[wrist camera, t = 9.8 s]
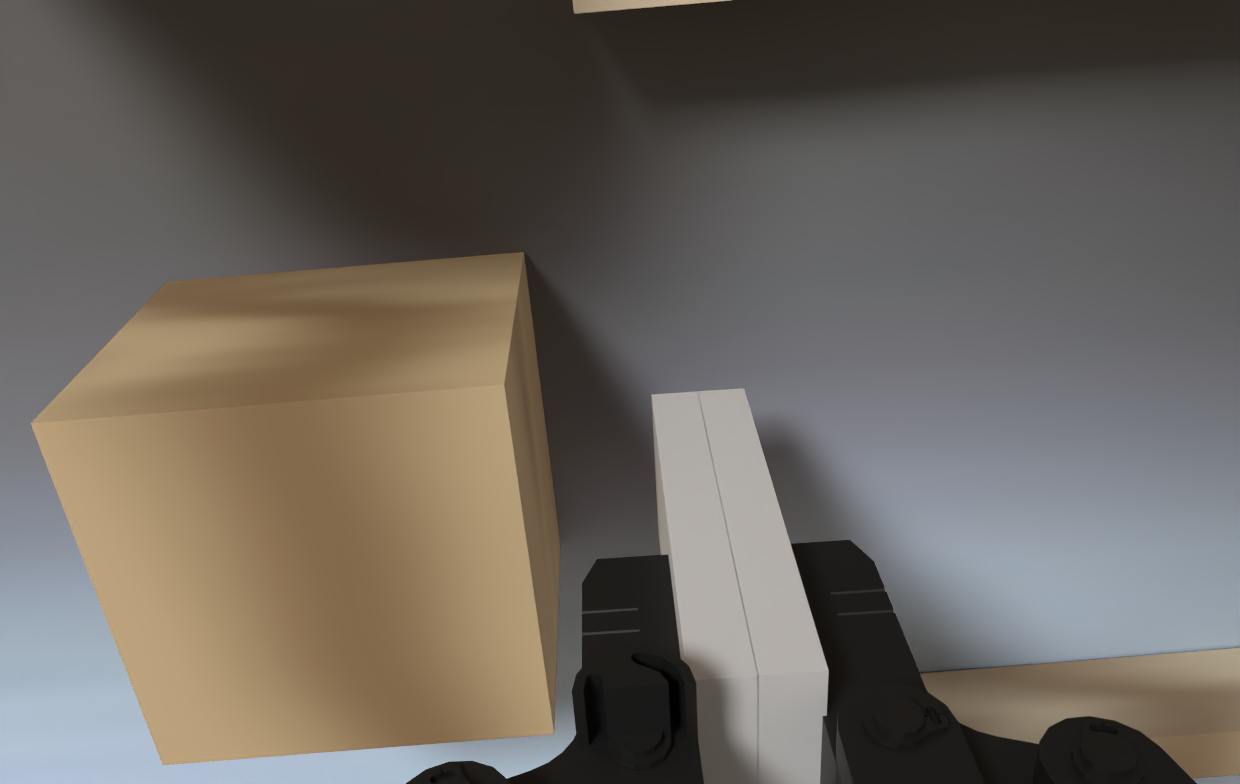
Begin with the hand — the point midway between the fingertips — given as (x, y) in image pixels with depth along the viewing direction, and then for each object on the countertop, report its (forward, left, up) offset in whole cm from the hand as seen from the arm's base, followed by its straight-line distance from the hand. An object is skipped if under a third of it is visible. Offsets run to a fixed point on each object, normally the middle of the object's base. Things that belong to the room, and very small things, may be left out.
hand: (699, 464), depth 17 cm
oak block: (-6, 0, -2) cm, 6 cm away
